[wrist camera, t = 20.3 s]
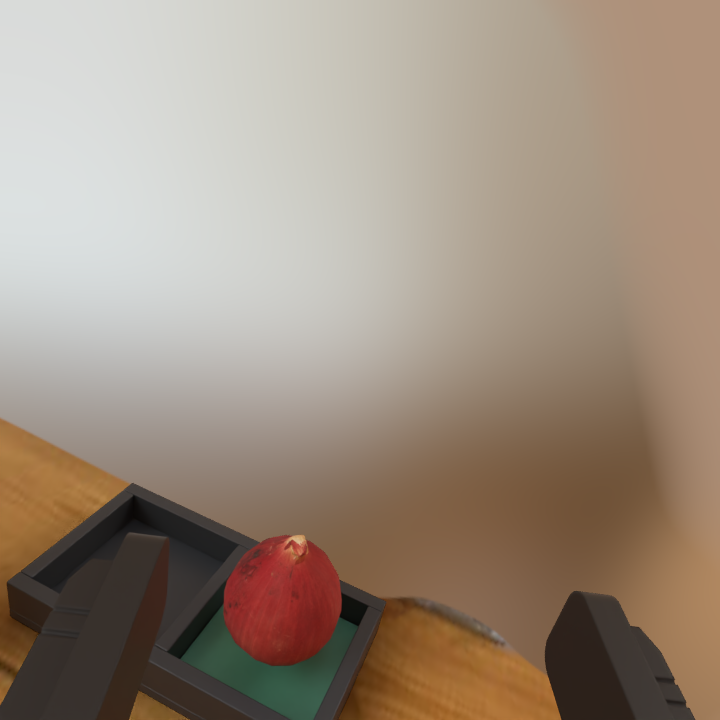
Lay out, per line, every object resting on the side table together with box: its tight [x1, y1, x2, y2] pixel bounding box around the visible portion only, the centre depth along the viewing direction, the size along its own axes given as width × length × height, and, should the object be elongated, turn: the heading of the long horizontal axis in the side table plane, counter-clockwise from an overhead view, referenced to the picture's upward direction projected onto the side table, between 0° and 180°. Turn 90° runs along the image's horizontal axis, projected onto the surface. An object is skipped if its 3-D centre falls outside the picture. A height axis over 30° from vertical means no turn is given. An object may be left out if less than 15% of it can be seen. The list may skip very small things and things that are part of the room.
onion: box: [223, 535, 342, 666], centre depth 29 cm, size 6×6×8 cm
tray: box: [7, 483, 386, 720], centre depth 32 cm, size 9×17×3 cm, turn 68°
